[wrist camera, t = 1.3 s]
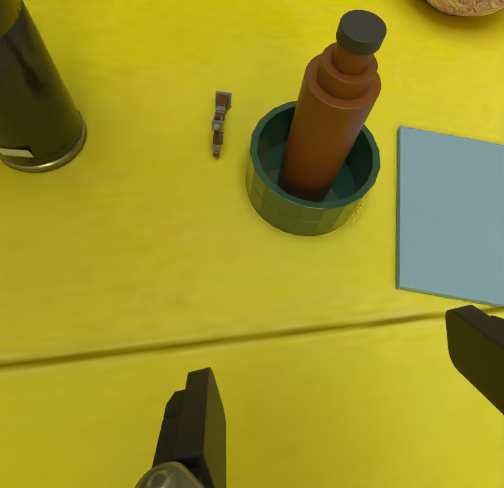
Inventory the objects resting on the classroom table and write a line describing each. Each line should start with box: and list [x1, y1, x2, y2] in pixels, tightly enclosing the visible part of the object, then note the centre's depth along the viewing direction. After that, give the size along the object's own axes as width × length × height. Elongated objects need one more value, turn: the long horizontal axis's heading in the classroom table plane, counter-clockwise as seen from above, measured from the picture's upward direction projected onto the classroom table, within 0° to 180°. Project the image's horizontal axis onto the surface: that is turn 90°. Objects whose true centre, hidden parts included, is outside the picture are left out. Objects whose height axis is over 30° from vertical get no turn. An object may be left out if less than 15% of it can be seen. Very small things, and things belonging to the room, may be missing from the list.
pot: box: [246, 101, 380, 236], centre depth 38 cm, size 12×12×6 cm
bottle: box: [278, 10, 386, 202], centre depth 32 cm, size 6×6×18 cm
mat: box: [396, 126, 504, 308], centre depth 40 cm, size 20×20×1 cm
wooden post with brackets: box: [212, 91, 231, 157], centre depth 41 cm, size 2×8×4 cm, turn 176°
